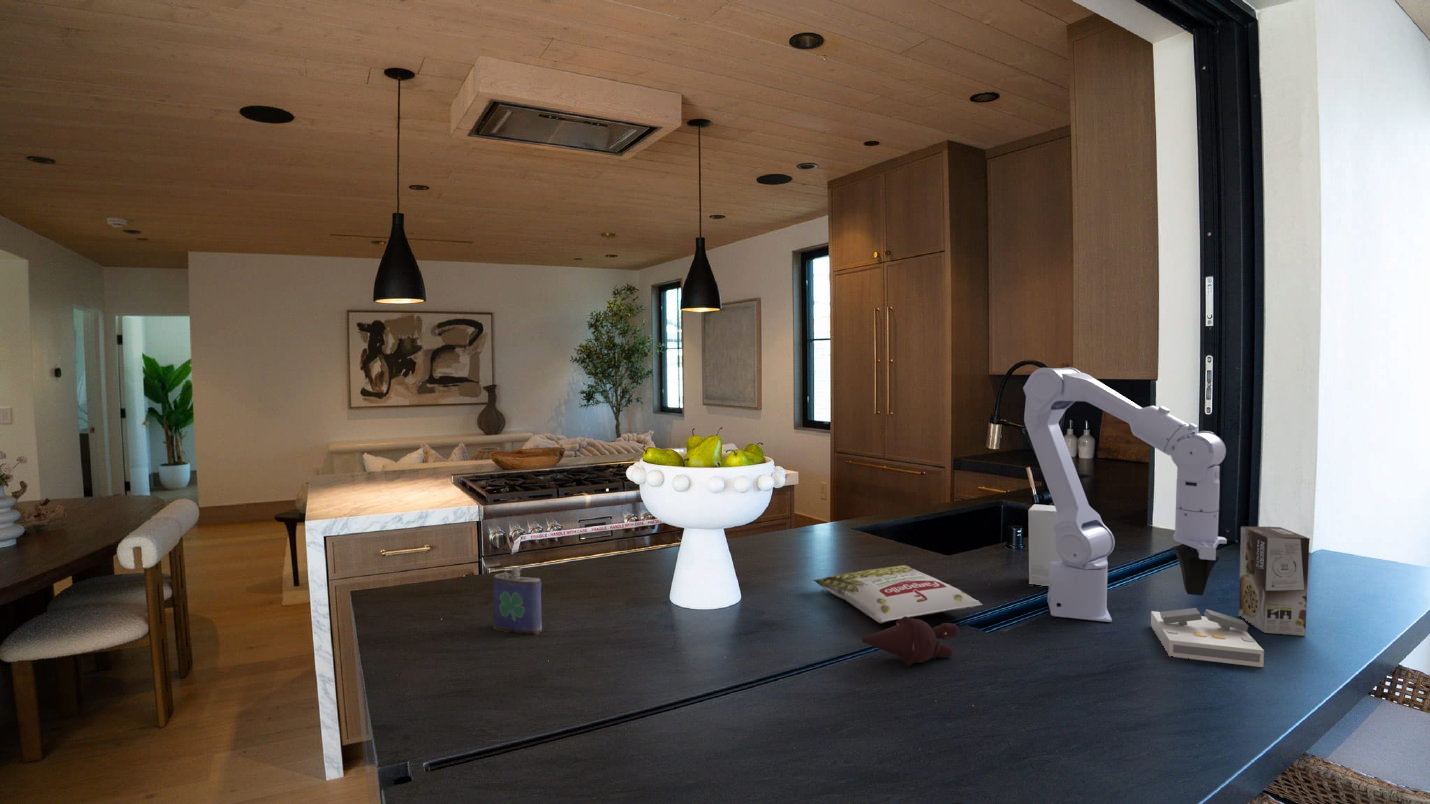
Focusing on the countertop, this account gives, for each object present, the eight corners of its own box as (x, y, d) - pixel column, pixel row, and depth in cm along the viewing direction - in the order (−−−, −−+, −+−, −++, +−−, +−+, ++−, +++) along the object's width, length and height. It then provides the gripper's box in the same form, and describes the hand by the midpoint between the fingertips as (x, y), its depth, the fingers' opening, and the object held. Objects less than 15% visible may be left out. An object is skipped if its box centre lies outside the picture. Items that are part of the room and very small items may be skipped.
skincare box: (1076, 583, 151) (1078, 506, 150) (1072, 592, 146) (1074, 512, 145) (1032, 577, 156) (1033, 502, 155) (1026, 585, 150) (1027, 508, 149)
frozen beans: (903, 552, 153) (985, 587, 129) (904, 580, 153) (986, 620, 129) (811, 565, 146) (880, 604, 122) (812, 594, 146) (881, 639, 123)
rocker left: (1165, 628, 120) (1163, 617, 120) (1162, 622, 122) (1159, 612, 122) (1203, 624, 118) (1200, 613, 118) (1198, 618, 120) (1195, 607, 121)
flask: (545, 630, 126) (543, 567, 125) (534, 636, 123) (533, 572, 122) (499, 623, 129) (498, 562, 128) (488, 629, 126) (486, 566, 126)
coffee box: (1307, 636, 122) (1311, 538, 121) (1263, 633, 123) (1266, 536, 122) (1277, 617, 131) (1281, 526, 130) (1236, 615, 132) (1239, 524, 131)
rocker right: (1207, 624, 118) (1210, 614, 117) (1202, 618, 120) (1205, 608, 120) (1245, 636, 116) (1248, 626, 116) (1239, 630, 119) (1242, 620, 118)
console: (1169, 656, 114) (1169, 639, 114) (1150, 625, 127) (1151, 610, 127) (1263, 667, 110) (1264, 649, 109) (1234, 634, 123) (1235, 618, 123)
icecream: (875, 634, 106) (972, 636, 109) (857, 605, 113) (949, 607, 116) (866, 676, 108) (962, 676, 111) (849, 644, 115) (939, 646, 118)
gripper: (1241, 519, 110) (1237, 610, 111) (1213, 502, 124) (1211, 583, 125) (1185, 516, 113) (1182, 605, 114) (1164, 499, 126) (1162, 579, 127)
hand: (1194, 593), depth 119 cm, fingers closed
